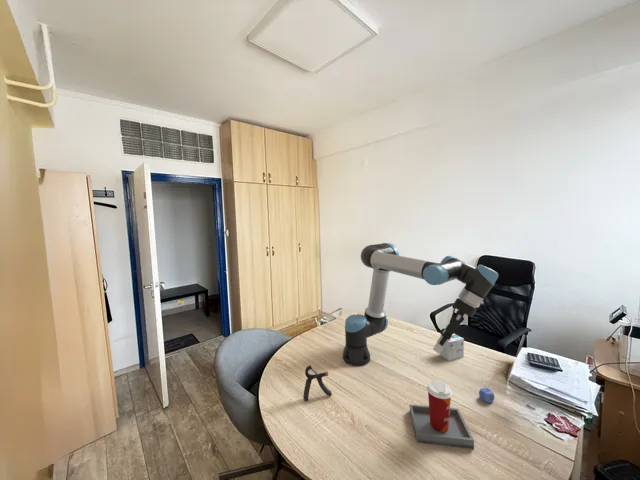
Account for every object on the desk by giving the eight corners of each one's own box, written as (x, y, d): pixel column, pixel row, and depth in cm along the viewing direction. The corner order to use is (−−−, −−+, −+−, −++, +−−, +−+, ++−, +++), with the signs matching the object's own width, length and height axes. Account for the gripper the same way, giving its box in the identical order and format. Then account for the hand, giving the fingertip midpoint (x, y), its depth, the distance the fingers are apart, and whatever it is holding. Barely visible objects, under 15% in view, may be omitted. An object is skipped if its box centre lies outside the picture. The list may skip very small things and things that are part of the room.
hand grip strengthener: (332, 397, 109) (331, 365, 108) (303, 402, 107) (302, 368, 106) (331, 394, 112) (330, 362, 110) (303, 398, 110) (301, 365, 108)
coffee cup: (454, 437, 87) (455, 396, 85) (429, 433, 88) (429, 393, 87) (447, 418, 95) (448, 380, 94) (424, 415, 97) (424, 378, 95)
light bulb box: (454, 351, 143) (454, 333, 142) (464, 357, 137) (464, 338, 136) (439, 355, 140) (439, 336, 139) (448, 361, 133) (449, 342, 132)
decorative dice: (494, 401, 104) (494, 392, 104) (487, 403, 103) (487, 394, 102) (485, 395, 108) (485, 386, 107) (478, 397, 106) (478, 388, 106)
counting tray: (417, 442, 86) (417, 434, 86) (409, 411, 100) (409, 404, 100) (473, 448, 83) (474, 440, 83) (458, 415, 97) (458, 408, 97)
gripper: (478, 312, 84) (444, 362, 87) (476, 306, 105) (449, 347, 108) (456, 298, 88) (424, 347, 91) (458, 295, 109) (432, 335, 112)
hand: (437, 347), depth 99 cm, fingers open, 13 cm apart
